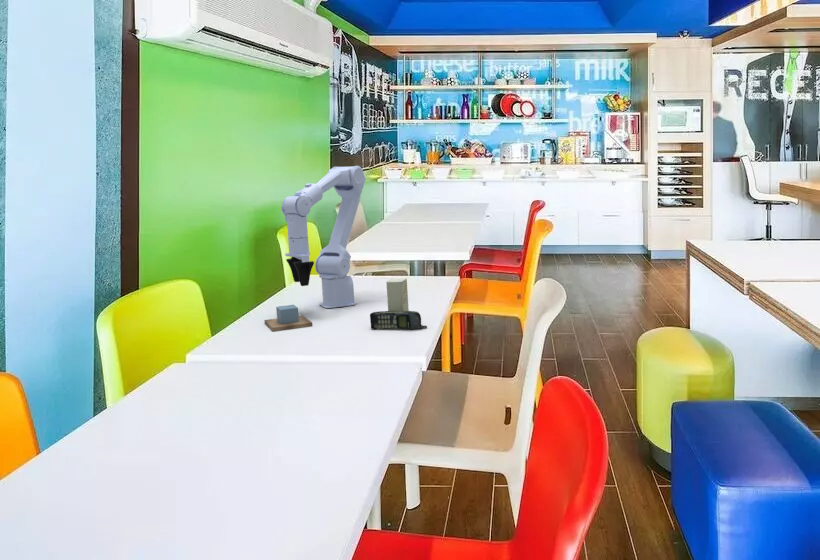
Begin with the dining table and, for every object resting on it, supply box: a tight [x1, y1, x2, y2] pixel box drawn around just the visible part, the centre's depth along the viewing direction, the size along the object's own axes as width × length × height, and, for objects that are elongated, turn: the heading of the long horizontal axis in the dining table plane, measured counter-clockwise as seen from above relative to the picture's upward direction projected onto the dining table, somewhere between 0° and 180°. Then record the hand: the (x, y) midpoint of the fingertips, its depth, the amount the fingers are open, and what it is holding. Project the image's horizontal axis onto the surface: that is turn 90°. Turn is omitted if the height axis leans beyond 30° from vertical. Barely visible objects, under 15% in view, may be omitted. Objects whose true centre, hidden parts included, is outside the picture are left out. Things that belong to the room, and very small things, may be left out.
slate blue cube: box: [276, 304, 300, 324], centre depth 206 cm, size 5×5×4 cm
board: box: [264, 314, 313, 332], centre depth 206 cm, size 11×11×4 cm
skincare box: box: [386, 277, 410, 311], centre depth 201 cm, size 6×4×12 cm
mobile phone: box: [369, 310, 428, 331], centre depth 196 cm, size 5×3×15 cm
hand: (301, 283), depth 217 cm, fingers open, 7 cm apart
